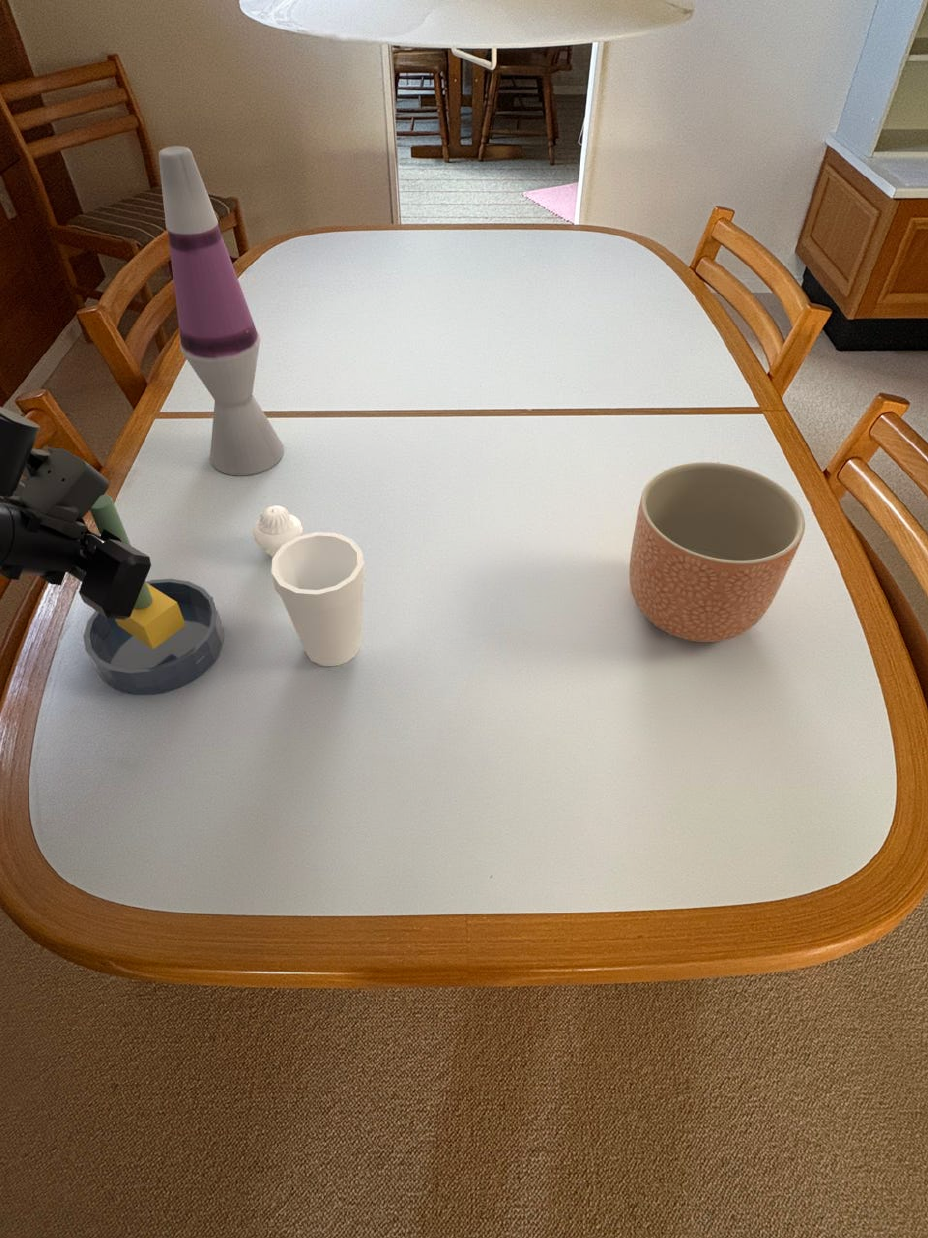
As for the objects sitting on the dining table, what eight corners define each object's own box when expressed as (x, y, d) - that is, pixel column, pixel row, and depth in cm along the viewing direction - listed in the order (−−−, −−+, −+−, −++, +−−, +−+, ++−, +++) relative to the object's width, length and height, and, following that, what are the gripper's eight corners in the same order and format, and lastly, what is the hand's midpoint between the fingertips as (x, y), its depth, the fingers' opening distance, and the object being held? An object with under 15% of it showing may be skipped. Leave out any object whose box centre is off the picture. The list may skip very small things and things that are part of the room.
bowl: (104, 712, 84) (91, 690, 81) (89, 623, 92) (77, 600, 90) (236, 669, 88) (229, 647, 85) (210, 588, 96) (202, 565, 94)
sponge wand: (153, 650, 83) (99, 525, 71) (117, 625, 85) (59, 501, 73) (186, 625, 85) (139, 501, 73) (150, 602, 88) (99, 478, 76)
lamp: (205, 441, 118) (120, 140, 89) (277, 427, 120) (217, 130, 91) (215, 482, 111) (126, 171, 82) (290, 467, 113) (230, 159, 84)
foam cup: (352, 686, 86) (339, 603, 76) (277, 665, 88) (254, 582, 78) (385, 625, 92) (377, 542, 83) (314, 607, 94) (297, 524, 85)
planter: (794, 618, 93) (839, 518, 82) (698, 686, 86) (733, 587, 75) (685, 542, 102) (712, 443, 91) (590, 598, 95) (607, 498, 84)
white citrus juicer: (312, 538, 103) (304, 495, 98) (298, 570, 99) (289, 527, 93) (266, 533, 103) (256, 491, 98) (251, 565, 99) (239, 522, 94)
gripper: (95, 486, 61) (231, 522, 75) (-38, 409, 69) (109, 455, 83) (44, 615, 62) (188, 627, 77) (-80, 526, 70) (71, 551, 84)
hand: (138, 560), depth 80 cm, fingers closed on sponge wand, 2 cm apart
